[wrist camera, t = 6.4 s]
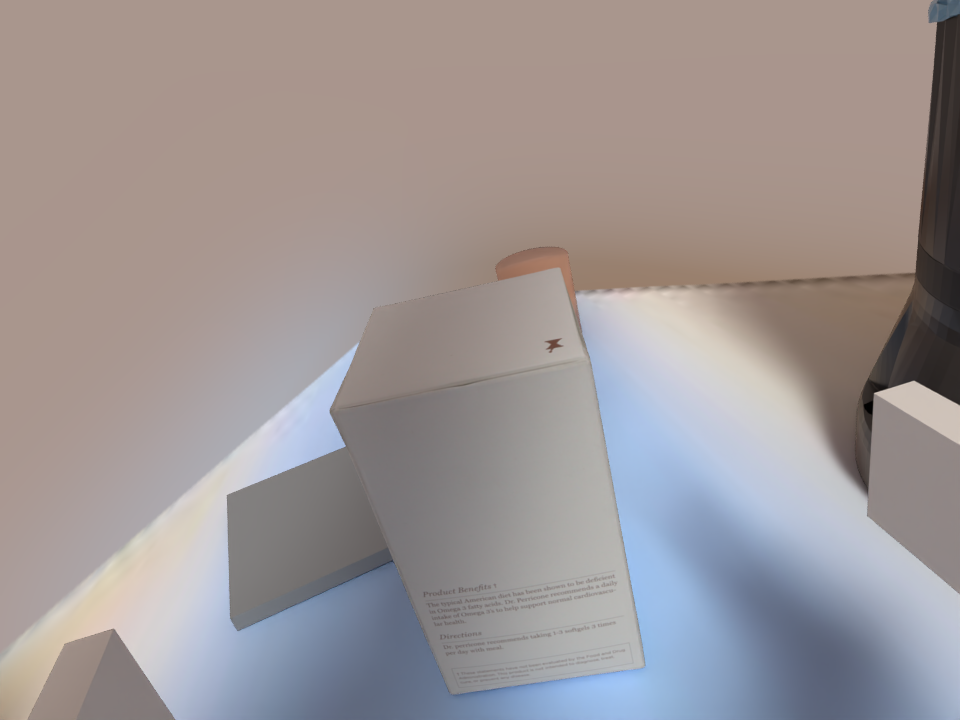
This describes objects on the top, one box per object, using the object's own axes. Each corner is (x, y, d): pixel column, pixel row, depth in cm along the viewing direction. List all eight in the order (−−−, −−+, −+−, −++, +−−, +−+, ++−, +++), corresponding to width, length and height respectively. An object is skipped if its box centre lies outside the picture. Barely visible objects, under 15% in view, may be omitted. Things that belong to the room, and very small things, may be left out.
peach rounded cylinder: (561, 316, 49) (547, 241, 47) (595, 337, 45) (581, 256, 42) (503, 338, 48) (484, 264, 45) (531, 362, 44) (513, 281, 41)
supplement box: (615, 525, 29) (567, 260, 23) (649, 675, 22) (594, 356, 16) (455, 550, 30) (371, 302, 24) (441, 701, 23) (322, 408, 17)
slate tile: (395, 438, 39) (391, 428, 39) (446, 535, 31) (441, 523, 30) (232, 505, 37) (226, 495, 37) (237, 630, 28) (230, 618, 28)
